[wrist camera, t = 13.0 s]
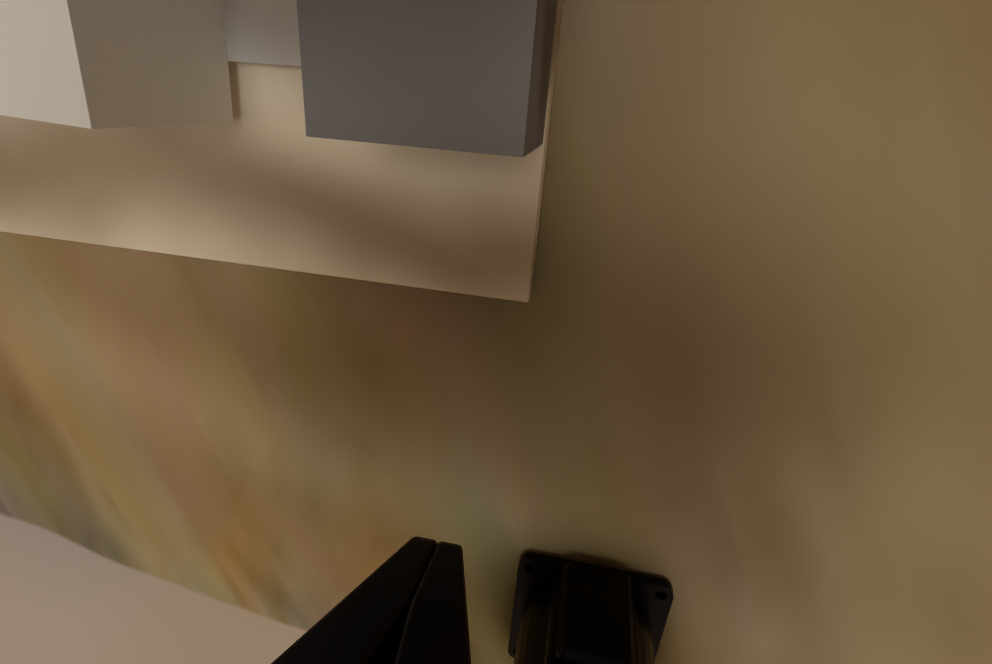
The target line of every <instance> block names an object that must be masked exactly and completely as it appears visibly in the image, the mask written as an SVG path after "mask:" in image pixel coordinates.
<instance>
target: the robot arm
mask: <svg viewBox="0 0 992 664" xmlns="http://www.w3.org/2000/svg"><path fill="white" fill-rule="evenodd" d="M528 564H532V565H528ZM658 591H663V592H658ZM672 600H673V589H672V585H671V583H669V582H668V581H667V580H664V579H660V578H655V577H650V576H645V575H641V574H636V573H631V572H626V571H621V570H616V569H611V568H606V567H601V566H596V565H591V564H586V563H581V562H576V561H571V560H566V559H561V558H556V557H551V556H546V555H541V554H536V553H529V552H528V553H524V554H523V555H521V557H520V561H519V566H518V574H517V582H516V590H515V599H514V607H513V615H512V623H511V631H510V639H509V647H508V652H509V654H510V656H512V657H513V658H514V663H513V664H655V663H654V660H655V657H656V653H657V650H658V647H659V643H660V640H661V637H662V634H663V630H664V627H665V624H666V620H667V617H668V614H669V610H670V607H671V604H672ZM271 664H471V655H470V642H469V629H468V616H467V603H466V590H465V577H464V564H463V551H462V547H461V546H460V545H457V544H452V543H447V542H439V543H438V544H437V542H436V541H435V540H432V539H427V538H422V537H413V538H412V539H410V540H409V541H408V542H407V543H406V544H405V545H404V546H402V547H401V548H400V549H399V550H398V551H397V552H396V553H395V554H393V555H392V556H391V557H390V558H389V559H388V560H387V561H386V562H385V563H383V564H382V565H381V566H380V567H379V568H378V569H377V570H376V571H374V572H373V573H372V574H371V575H370V576H369V577H368V578H367V579H365V580H364V581H363V582H362V583H361V584H360V585H359V586H358V587H357V588H355V589H354V590H353V591H352V592H351V593H350V594H349V595H348V596H346V597H345V598H344V599H343V600H342V601H341V602H340V603H339V604H337V605H336V606H335V607H334V608H333V609H332V610H331V611H330V612H328V613H327V614H326V615H325V616H324V617H323V618H322V619H321V620H320V621H318V622H317V623H316V624H315V625H314V626H313V627H312V628H311V629H309V630H308V631H307V632H306V633H305V634H304V635H303V636H302V637H300V638H299V639H298V640H297V641H296V642H295V643H294V644H293V645H291V646H290V647H289V648H288V649H287V650H286V651H285V652H284V653H283V654H282V655H280V656H279V657H278V658H277V659H276V660H275V661H274V662H273V663H271Z"/></svg>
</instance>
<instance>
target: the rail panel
mask: <svg viewBox="0 0 992 664" xmlns="http://www.w3.org/2000/svg"><path fill="white" fill-rule="evenodd" d="M562 3H563V0H223V10H224V22H225V33H226V45H227V56H228V68H229V79H230V90H231V102H232V113H233V121H230V122H212V123H193V124H174V125H155V126H137V127H118V128H99V129H89V128H82V127H76V126H69V125H63V124H56V123H50V122H43V121H36V120H30V119H23V118H17V117H10V116H4V115H0V231H3V232H10V233H17V234H25V235H32V236H40V237H47V238H54V239H62V240H69V241H77V242H84V243H91V244H99V245H106V246H114V247H121V248H128V249H136V250H143V251H151V252H158V253H165V254H173V255H180V256H187V257H195V258H202V259H210V260H217V261H224V262H232V263H239V264H247V265H254V266H261V267H269V268H276V269H284V270H291V271H298V272H306V273H313V274H321V275H328V276H335V277H343V278H350V279H358V280H365V281H372V282H380V283H387V284H395V285H402V286H409V287H417V288H424V289H432V290H439V291H446V292H454V293H461V294H469V295H476V296H483V297H491V298H498V299H506V300H513V301H520V302H528V301H529V298H530V295H531V293H532V284H533V274H534V265H535V256H536V246H537V237H538V228H539V218H540V209H541V200H542V190H543V181H544V172H545V162H546V153H547V143H548V134H549V125H550V115H551V106H552V97H553V87H554V78H555V69H556V59H557V50H558V41H559V31H560V22H561V12H562Z"/></svg>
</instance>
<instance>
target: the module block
mask: <svg viewBox="0 0 992 664" xmlns="http://www.w3.org/2000/svg"><path fill="white" fill-rule="evenodd" d="M0 115H4V116H10V117H17V118H23V119H30V120H36V121H43V122H50V123H56V124H63V125H69V126H76V127H82V128H89V129H99V128H118V127H137V126H155V125H174V124H193V123H212V122H230V121H233V113H232V102H231V90H230V79H229V68H228V56H227V45H226V33H225V22H224V10H223V0H0Z"/></svg>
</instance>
